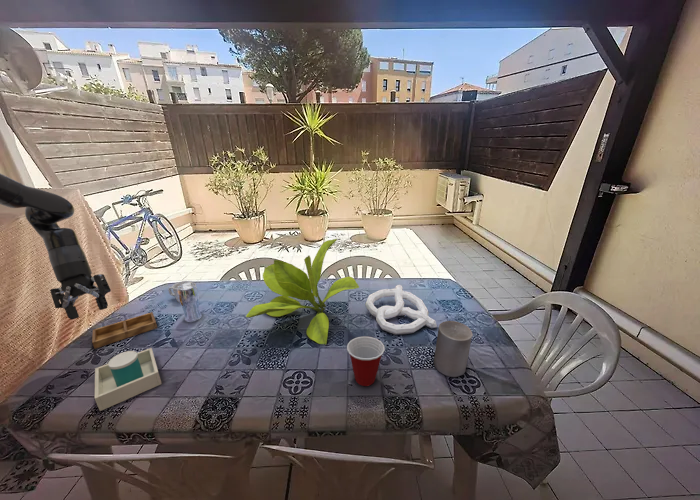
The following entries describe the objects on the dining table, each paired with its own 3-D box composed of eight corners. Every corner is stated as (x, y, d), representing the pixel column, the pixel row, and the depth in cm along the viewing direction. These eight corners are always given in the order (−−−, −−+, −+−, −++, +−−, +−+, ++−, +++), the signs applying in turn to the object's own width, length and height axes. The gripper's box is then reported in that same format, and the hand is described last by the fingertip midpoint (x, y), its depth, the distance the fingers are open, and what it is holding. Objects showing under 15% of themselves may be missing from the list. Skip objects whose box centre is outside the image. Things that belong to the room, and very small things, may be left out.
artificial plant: (276, 306, 131) (231, 268, 113) (347, 254, 132) (315, 208, 114) (294, 381, 98) (235, 345, 80) (390, 310, 99) (354, 259, 81)
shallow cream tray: (100, 412, 70) (94, 398, 69) (100, 381, 80) (94, 368, 78) (162, 384, 79) (158, 371, 77) (155, 359, 88) (151, 347, 87)
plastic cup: (378, 363, 87) (379, 332, 83) (387, 391, 77) (389, 357, 73) (344, 367, 86) (344, 335, 81) (349, 395, 75) (349, 361, 71)
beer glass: (207, 316, 112) (200, 284, 107) (191, 325, 106) (183, 291, 101) (195, 312, 114) (188, 280, 109) (179, 321, 108) (171, 288, 103)
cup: (165, 304, 121) (161, 288, 118) (176, 295, 128) (173, 280, 125) (189, 305, 120) (185, 288, 118) (199, 296, 128) (196, 280, 125)
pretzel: (442, 330, 106) (445, 317, 103) (389, 347, 98) (391, 333, 95) (404, 290, 129) (405, 279, 126) (358, 301, 121) (359, 289, 118)
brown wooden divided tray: (95, 350, 92) (92, 342, 91) (95, 337, 99) (92, 329, 98) (158, 329, 104) (156, 322, 102) (154, 318, 110) (152, 311, 109)
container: (116, 393, 75) (108, 370, 72) (115, 379, 80) (107, 357, 77) (145, 381, 79) (138, 359, 76) (142, 368, 84) (136, 347, 81)
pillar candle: (435, 352, 92) (440, 314, 87) (466, 360, 89) (473, 321, 84) (431, 372, 84) (437, 331, 79) (465, 381, 80) (473, 340, 75)
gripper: (31, 272, 77) (52, 325, 77) (83, 255, 78) (103, 308, 78) (58, 269, 84) (76, 318, 85) (104, 255, 85) (122, 303, 86)
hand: (89, 313), depth 82 cm, fingers open, 8 cm apart
